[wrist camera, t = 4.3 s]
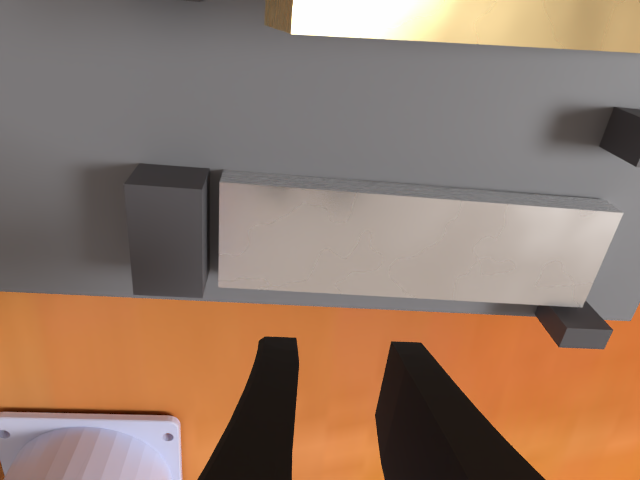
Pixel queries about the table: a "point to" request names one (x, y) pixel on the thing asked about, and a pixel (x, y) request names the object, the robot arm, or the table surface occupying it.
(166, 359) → the table surface
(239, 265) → the bar
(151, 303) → the table surface
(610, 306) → the mounting plate
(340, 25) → the bar
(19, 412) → the robot arm
